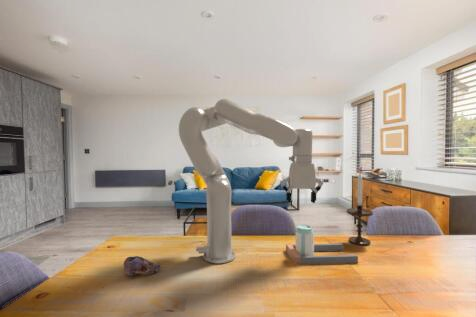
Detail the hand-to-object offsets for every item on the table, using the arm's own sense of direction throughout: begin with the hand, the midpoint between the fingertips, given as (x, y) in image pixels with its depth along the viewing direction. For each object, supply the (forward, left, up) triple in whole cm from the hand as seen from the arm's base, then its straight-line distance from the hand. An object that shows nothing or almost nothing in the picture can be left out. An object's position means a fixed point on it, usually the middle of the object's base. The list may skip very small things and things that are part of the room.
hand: (301, 202), depth 100 cm
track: (+7, -2, -21) cm, 23 cm away
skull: (-59, -12, -22) cm, 64 cm away
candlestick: (+31, +12, -22) cm, 40 cm away
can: (+1, -2, -22) cm, 22 cm away
